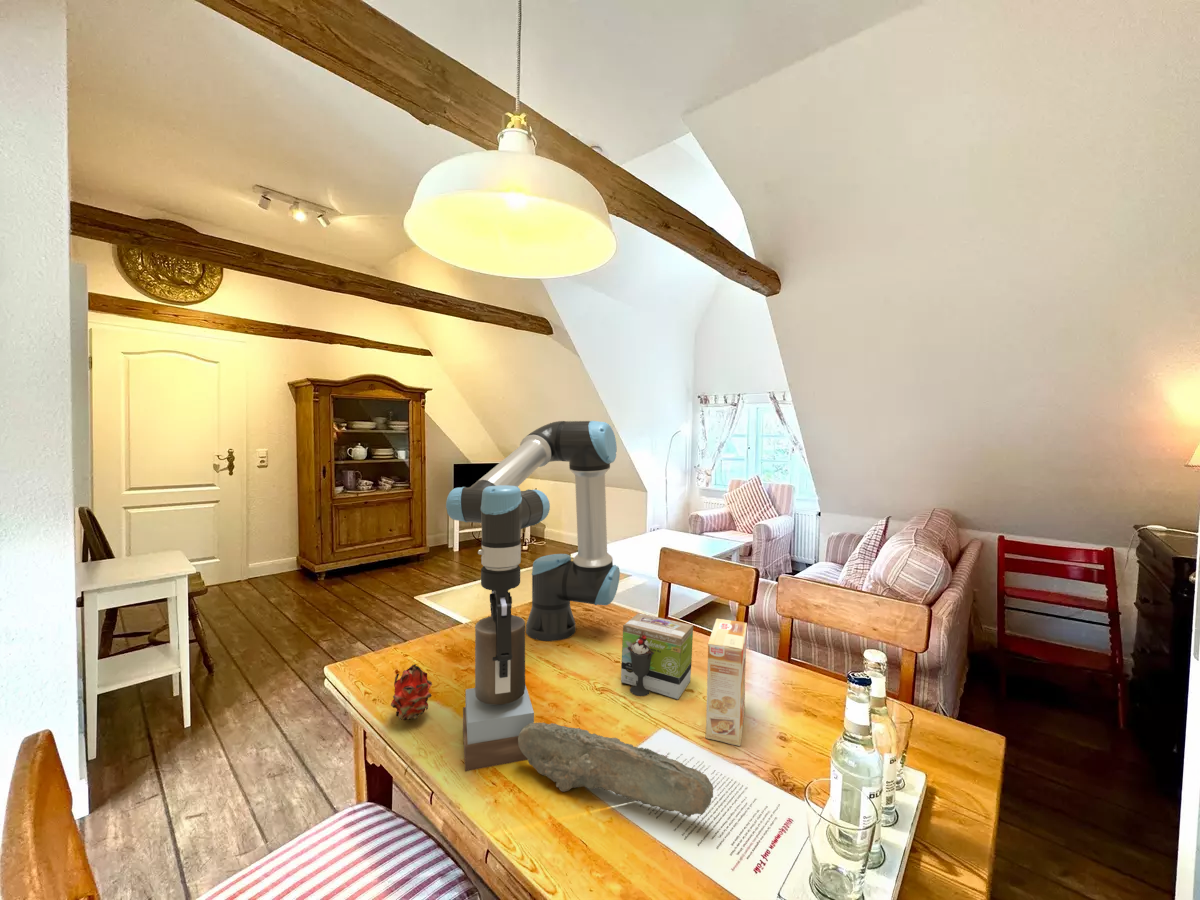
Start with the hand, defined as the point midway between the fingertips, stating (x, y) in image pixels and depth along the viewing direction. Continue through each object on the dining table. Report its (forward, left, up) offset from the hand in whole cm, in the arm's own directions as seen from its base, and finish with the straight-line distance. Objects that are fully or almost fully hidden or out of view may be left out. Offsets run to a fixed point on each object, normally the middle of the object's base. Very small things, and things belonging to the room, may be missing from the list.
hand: (500, 678), depth 95 cm
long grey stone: (+19, +16, -13) cm, 28 cm away
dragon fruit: (-13, -17, -13) cm, 25 cm away
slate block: (0, 0, -8) cm, 8 cm away
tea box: (-13, +39, -13) cm, 43 cm away
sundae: (-11, +34, -13) cm, 38 cm away
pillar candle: (0, 0, -3) cm, 3 cm away
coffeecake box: (+6, +47, -13) cm, 49 cm away
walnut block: (0, 0, -13) cm, 13 cm away
